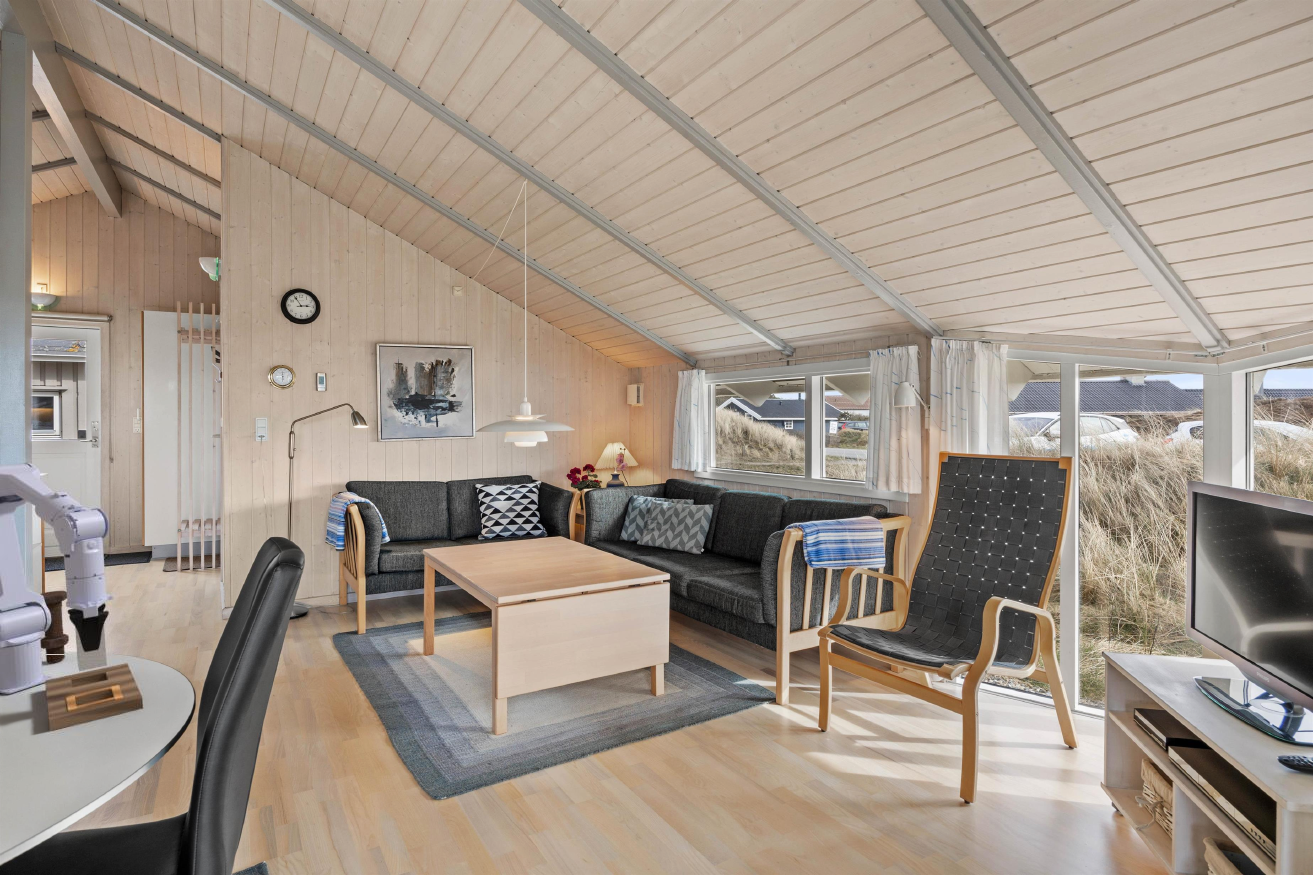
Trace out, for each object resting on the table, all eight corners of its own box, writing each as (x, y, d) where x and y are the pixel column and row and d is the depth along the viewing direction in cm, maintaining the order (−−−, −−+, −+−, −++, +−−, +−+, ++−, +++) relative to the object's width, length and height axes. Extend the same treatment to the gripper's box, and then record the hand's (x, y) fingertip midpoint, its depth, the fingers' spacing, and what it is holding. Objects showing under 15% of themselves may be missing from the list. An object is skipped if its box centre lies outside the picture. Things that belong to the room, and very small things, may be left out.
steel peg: (77, 665, 135) (74, 623, 134) (104, 659, 137) (101, 618, 137) (79, 671, 132) (76, 628, 131) (106, 665, 134) (103, 623, 134)
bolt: (78, 657, 159) (73, 590, 158) (57, 665, 154) (52, 596, 153) (54, 657, 160) (49, 590, 159) (32, 665, 155) (27, 596, 154)
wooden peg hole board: (45, 690, 141) (45, 679, 141) (127, 672, 149) (127, 661, 149) (50, 731, 123) (49, 718, 123) (143, 707, 132) (142, 696, 131)
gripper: (116, 577, 131) (121, 651, 131) (108, 565, 142) (113, 633, 142) (66, 585, 126) (71, 661, 127) (62, 572, 137) (67, 642, 138)
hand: (90, 647), depth 134 cm, fingers closed on steel peg, 4 cm apart
